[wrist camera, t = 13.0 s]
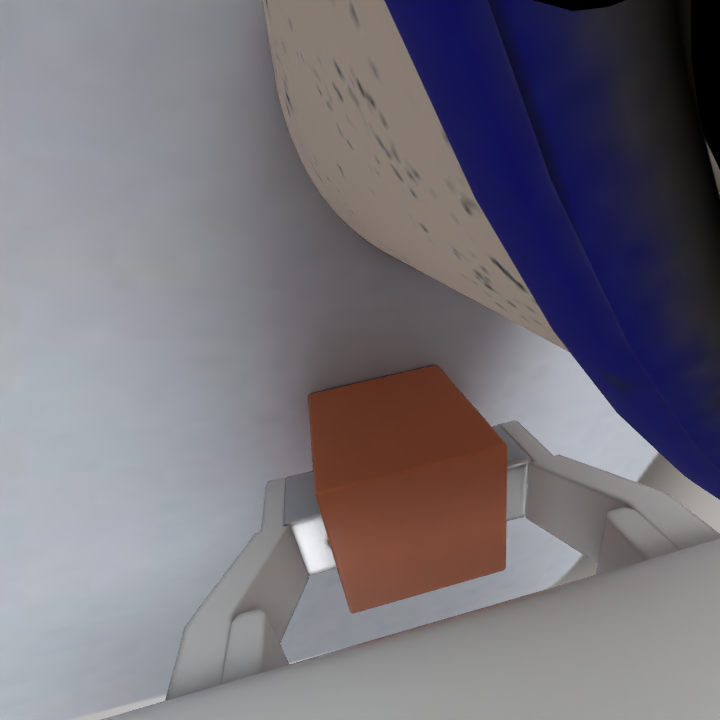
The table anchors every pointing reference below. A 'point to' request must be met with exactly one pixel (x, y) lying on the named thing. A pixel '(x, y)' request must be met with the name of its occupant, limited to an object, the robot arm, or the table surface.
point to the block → (407, 486)
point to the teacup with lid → (536, 175)
